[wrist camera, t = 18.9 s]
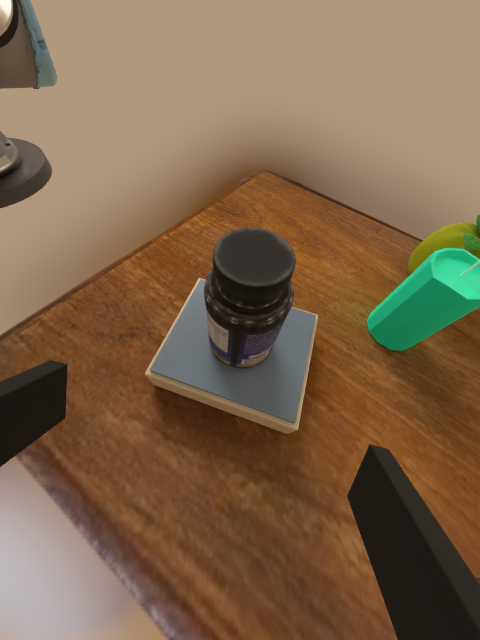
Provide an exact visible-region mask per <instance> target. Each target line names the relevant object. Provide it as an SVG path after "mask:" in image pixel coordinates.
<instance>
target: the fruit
mask: <svg viewBox="0 0 480 640" xmlns="http://www.w3.org/2000/svg"><path fill="white" fill-rule="evenodd" d="M444 248H458V249H464V250H466V251H468V252H469V253H471V254H472V255H474V256H475V257H477V258H478V259H479V260H480V215H478V216H477V226H476V225H474V224H473V223H469V222H463V223H456V224H452V225H448V226H445V227H443V228H441V229H439V230H437V231H436V232H434V233H433V234H431V235H430V236H429V237H427V238H426V239H425V240H424V241H423V242H422V243H421V244H419V245H418V246H417V248H416V249H415V250H414V251H413V253H412V254H411V256H410V258H409V261H408V265H407V271H408V275H409V276H410V275H411V274H412V273H413V272H414V271H415V270H416V269H417V268H418V267H419V266H420V265H421V264H422V263H423V262H424V261H425V260H426V259H427V258H428V257H429V256H430V255H431V254H432V253H434V252H435V251H437V250H441V249H444Z"/></svg>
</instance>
